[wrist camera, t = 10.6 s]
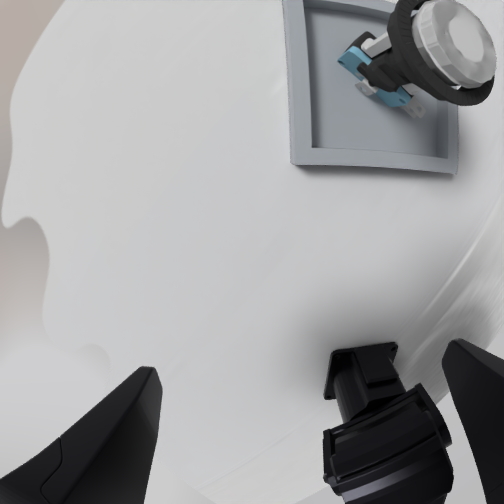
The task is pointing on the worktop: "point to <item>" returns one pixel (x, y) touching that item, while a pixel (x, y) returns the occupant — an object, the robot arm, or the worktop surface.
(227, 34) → the worktop surface
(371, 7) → the tray
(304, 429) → the worktop surface
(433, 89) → the push button
